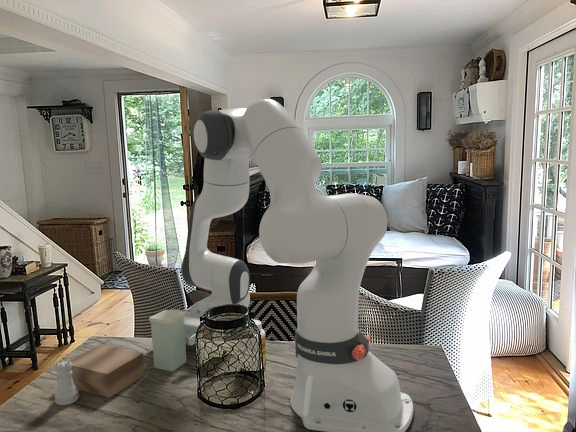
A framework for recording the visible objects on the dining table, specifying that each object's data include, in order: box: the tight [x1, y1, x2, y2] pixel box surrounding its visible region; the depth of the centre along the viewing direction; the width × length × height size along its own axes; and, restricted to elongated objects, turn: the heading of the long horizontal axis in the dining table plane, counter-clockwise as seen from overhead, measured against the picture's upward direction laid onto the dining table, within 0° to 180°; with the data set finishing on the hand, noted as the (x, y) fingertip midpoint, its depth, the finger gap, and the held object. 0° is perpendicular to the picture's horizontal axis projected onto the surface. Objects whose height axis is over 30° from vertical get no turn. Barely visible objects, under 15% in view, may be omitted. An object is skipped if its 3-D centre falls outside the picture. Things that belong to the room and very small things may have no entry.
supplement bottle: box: [252, 319, 267, 369], centre depth 102 cm, size 6×6×10 cm
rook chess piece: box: [54, 358, 80, 407], centre depth 91 cm, size 4×4×8 cm
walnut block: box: [70, 343, 146, 399], centre depth 99 cm, size 12×10×5 cm
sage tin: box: [148, 309, 187, 372], centre depth 105 cm, size 5×5×12 cm
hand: (170, 338), depth 105 cm, fingers open, 8 cm apart
